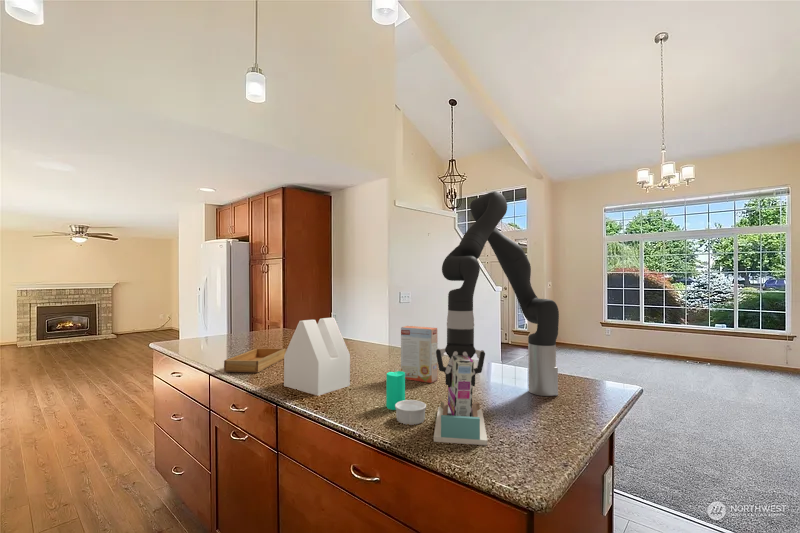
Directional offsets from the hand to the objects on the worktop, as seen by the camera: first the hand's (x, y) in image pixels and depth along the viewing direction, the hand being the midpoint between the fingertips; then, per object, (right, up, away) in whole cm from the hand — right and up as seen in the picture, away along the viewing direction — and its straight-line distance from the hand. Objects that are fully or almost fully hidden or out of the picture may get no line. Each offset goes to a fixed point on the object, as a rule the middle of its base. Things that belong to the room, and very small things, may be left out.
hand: (460, 386), depth 106 cm
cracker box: (-9, -12, +45) cm, 47 cm away
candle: (-18, -11, +13) cm, 25 cm away
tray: (-83, -13, +69) cm, 109 cm away
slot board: (0, -10, -2) cm, 10 cm away
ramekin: (-14, -10, +2) cm, 17 cm away
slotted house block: (-48, -11, +36) cm, 61 cm away
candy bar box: (0, -8, +1) cm, 8 cm away
